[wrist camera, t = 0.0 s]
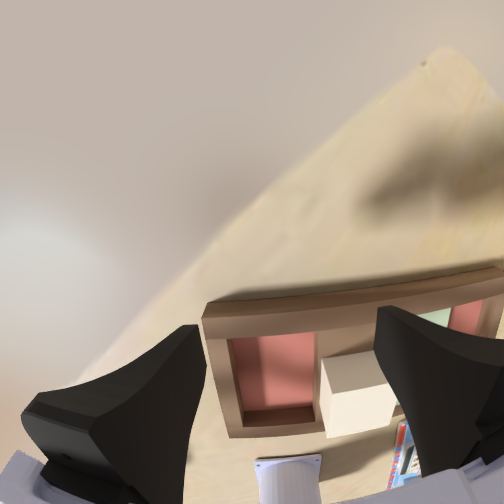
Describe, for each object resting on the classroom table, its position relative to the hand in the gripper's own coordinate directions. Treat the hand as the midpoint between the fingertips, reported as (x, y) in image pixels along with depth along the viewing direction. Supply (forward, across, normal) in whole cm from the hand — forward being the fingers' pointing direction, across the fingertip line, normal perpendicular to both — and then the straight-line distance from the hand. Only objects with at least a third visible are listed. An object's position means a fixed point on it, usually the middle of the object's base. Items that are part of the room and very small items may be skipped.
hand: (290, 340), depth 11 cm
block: (+8, -5, +10) cm, 13 cm away
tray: (+10, -8, +10) cm, 16 cm away
